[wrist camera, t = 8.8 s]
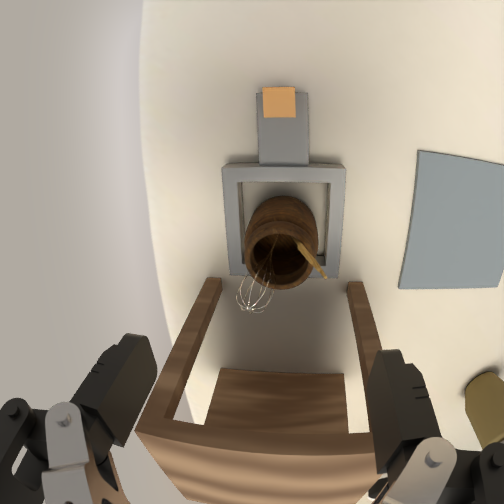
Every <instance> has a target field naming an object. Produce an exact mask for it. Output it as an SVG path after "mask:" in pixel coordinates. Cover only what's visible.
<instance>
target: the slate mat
mask: <svg viewBox="0 0 504 504" xmlns="http://www.w3.org/2000/svg"><path fill="white" fill-rule="evenodd" d="M503 270H504V165H499V164H495V163H490V162H485V161H480V160H475V159H470V158H464V157H459V156H453V155H446V154H440V153H433V152H426V151H418V154H417V167H416V178H415V188H414V196H413V204H412V212H411V219H410V225H409V232H408V238H407V243H406V249H405V254H404V259H403V264H402V269H401V274H400V279H399V283H398V288H399V289H458V288H492V287H498V284H499V282H500V279H501V276H502V273H503Z"/></svg>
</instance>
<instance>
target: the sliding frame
mask: <svg viewBox="0 0 504 504" xmlns="http://www.w3.org/2000/svg"><path fill="white" fill-rule="evenodd" d="M262 88H263V93H256V97H257V121H258V147H259V163H236V164H226V165H225V166H224V167H222V182H223V196H224V209H225V222H226V235H227V247H228V259H229V270H230V275H242V276H245V275H246V276H247V275H248V274H249V272H248V270H247V268H246V265H245V257H244V251H245V245H244V241H245V238H244V220H243V201H242V183H241V182H315V183H328V198H327V219H326V237H325V252H324V256H316V258H315V260H316V261H317V262H318V264H319V265H320V267H321V268H322V270H323V271H324V273H325V274H326V276H327V278H338V272H339V262H340V252H341V242H342V230H343V217H344V202H345V183H346V168H345V167H344V166H343V165H342V164H316V163H309V132H308V93H295V87H262ZM247 272H248V273H247ZM246 273H247V274H246ZM248 276H251V275H250V274H249V275H248ZM308 278H324V277H323V276H322V275H321V274H320V273H319V272H318V271H317V270H316V269H315V268H314V267H313V270H312V272H311V274H310V275H309V277H308Z"/></svg>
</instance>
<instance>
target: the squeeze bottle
mask: <svg viewBox="0 0 504 504" xmlns="http://www.w3.org/2000/svg"><path fill="white" fill-rule="evenodd" d="M465 411H466V414H467V416H468V418H469V420H470V422H471V425H472V427H473V429H474V431H475V433H476V436H477V438H478V440H479V442H480V445H481V447H482V449H484V448H485V447H486V446H487V445H489V444H491V443H494V442H500V443H503V444H504V381H503V380H501V379H500V378H499V377H498V376H497V375H496V374H494V373H493V372H486V373H483V374H481V375H479V376H478V377H476V378H475V379H474V380H473V381H471V382H470V384H469V385H468V386H467V388H466V390H465Z"/></svg>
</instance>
